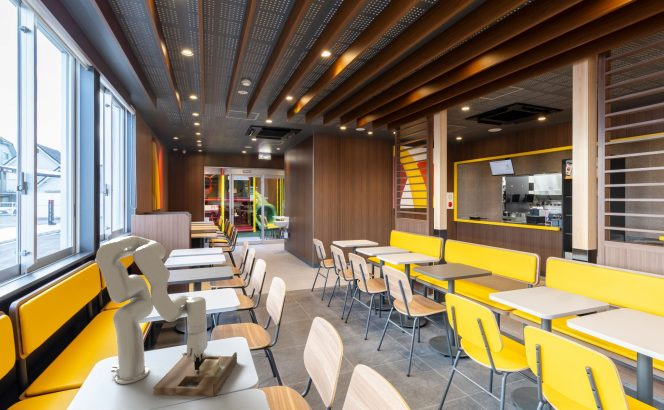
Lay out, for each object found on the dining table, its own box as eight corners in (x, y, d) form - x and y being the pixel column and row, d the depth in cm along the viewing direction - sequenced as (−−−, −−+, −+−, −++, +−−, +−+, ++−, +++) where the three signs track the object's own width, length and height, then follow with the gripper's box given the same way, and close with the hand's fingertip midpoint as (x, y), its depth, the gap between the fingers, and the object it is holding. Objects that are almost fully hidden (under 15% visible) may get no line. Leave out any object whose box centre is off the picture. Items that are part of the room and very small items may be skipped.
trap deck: (153, 394, 130) (153, 382, 130) (184, 361, 154) (184, 351, 153) (215, 396, 128) (215, 384, 128) (237, 362, 152) (236, 352, 152)
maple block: (199, 375, 138) (199, 366, 137) (206, 366, 144) (205, 359, 143) (213, 375, 137) (213, 367, 137) (219, 367, 143) (219, 359, 143)
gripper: (196, 319, 147) (198, 359, 148) (179, 335, 132) (181, 379, 134) (213, 319, 147) (214, 359, 148) (197, 335, 132) (199, 379, 133)
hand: (199, 368), depth 141 cm, fingers closed
